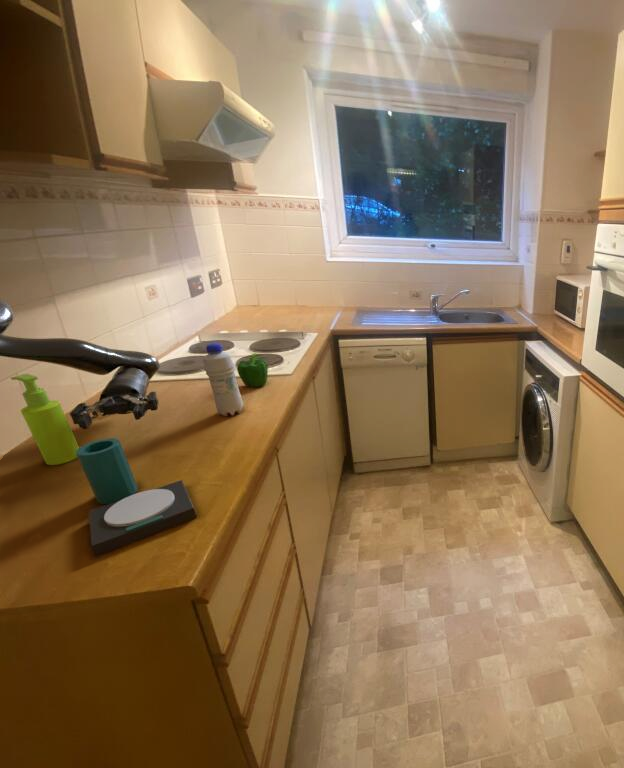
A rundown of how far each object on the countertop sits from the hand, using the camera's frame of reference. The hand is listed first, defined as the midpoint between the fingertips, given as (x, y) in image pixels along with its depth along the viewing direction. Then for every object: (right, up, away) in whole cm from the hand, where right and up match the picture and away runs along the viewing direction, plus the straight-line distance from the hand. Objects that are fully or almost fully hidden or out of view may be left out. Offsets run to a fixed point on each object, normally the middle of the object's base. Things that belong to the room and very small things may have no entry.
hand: (110, 420), depth 91 cm
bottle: (+7, 0, +29) cm, 30 cm away
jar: (+6, -14, -5) cm, 16 cm away
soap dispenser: (-18, -9, +8) cm, 22 cm away
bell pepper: (+3, +7, +48) cm, 48 cm away
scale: (+17, -17, -11) cm, 27 cm away
